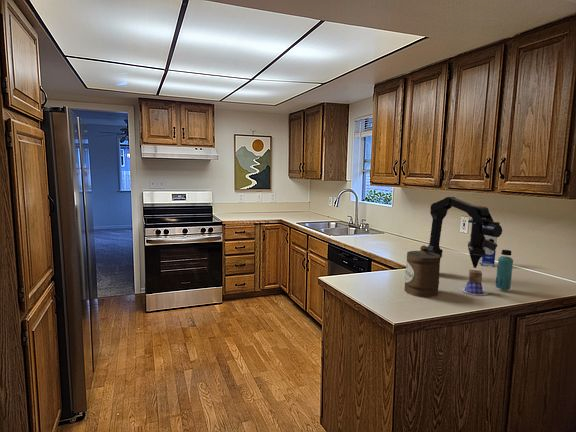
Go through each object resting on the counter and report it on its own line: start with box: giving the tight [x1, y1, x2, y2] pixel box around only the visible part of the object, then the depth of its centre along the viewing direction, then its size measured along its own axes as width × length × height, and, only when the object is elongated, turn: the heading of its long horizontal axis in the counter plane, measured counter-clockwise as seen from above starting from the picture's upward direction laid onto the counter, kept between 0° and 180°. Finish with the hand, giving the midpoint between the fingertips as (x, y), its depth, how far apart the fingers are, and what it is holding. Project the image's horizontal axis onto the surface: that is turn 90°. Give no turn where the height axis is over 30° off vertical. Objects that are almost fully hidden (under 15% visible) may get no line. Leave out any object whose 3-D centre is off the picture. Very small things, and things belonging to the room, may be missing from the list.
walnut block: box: [468, 269, 483, 284], centre depth 175 cm, size 5×5×5 cm
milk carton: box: [479, 235, 498, 268], centre depth 225 cm, size 7×7×20 cm
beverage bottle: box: [494, 249, 514, 291], centre depth 177 cm, size 6×7×20 cm
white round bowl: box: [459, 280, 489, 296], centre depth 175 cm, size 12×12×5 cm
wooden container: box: [404, 245, 441, 298], centre depth 171 cm, size 15×15×22 cm
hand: (474, 265), depth 176 cm, fingers open, 9 cm apart
